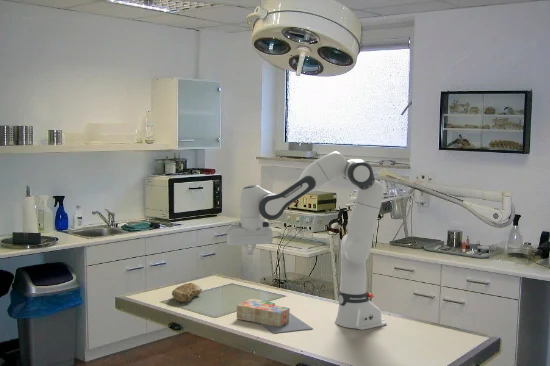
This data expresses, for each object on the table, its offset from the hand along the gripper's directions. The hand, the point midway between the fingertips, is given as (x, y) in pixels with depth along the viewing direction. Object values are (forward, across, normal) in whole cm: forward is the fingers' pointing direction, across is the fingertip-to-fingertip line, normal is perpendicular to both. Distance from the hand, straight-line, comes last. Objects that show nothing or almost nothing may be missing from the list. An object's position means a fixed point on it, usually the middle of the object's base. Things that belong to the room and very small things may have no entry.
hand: (249, 254), depth 268 cm
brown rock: (+29, -15, +42) cm, 53 cm away
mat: (+29, +13, -6) cm, 33 cm away
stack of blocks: (+26, +2, -5) cm, 26 cm away
